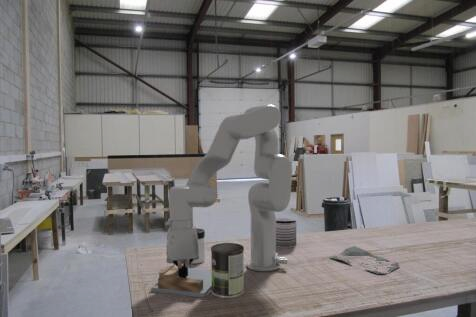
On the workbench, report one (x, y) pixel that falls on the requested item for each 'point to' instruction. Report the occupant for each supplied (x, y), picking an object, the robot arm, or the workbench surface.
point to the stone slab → (360, 252)
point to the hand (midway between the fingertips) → (183, 278)
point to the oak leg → (173, 272)
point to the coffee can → (227, 270)
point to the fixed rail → (180, 284)
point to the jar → (200, 246)
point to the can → (285, 232)
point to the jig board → (192, 274)
